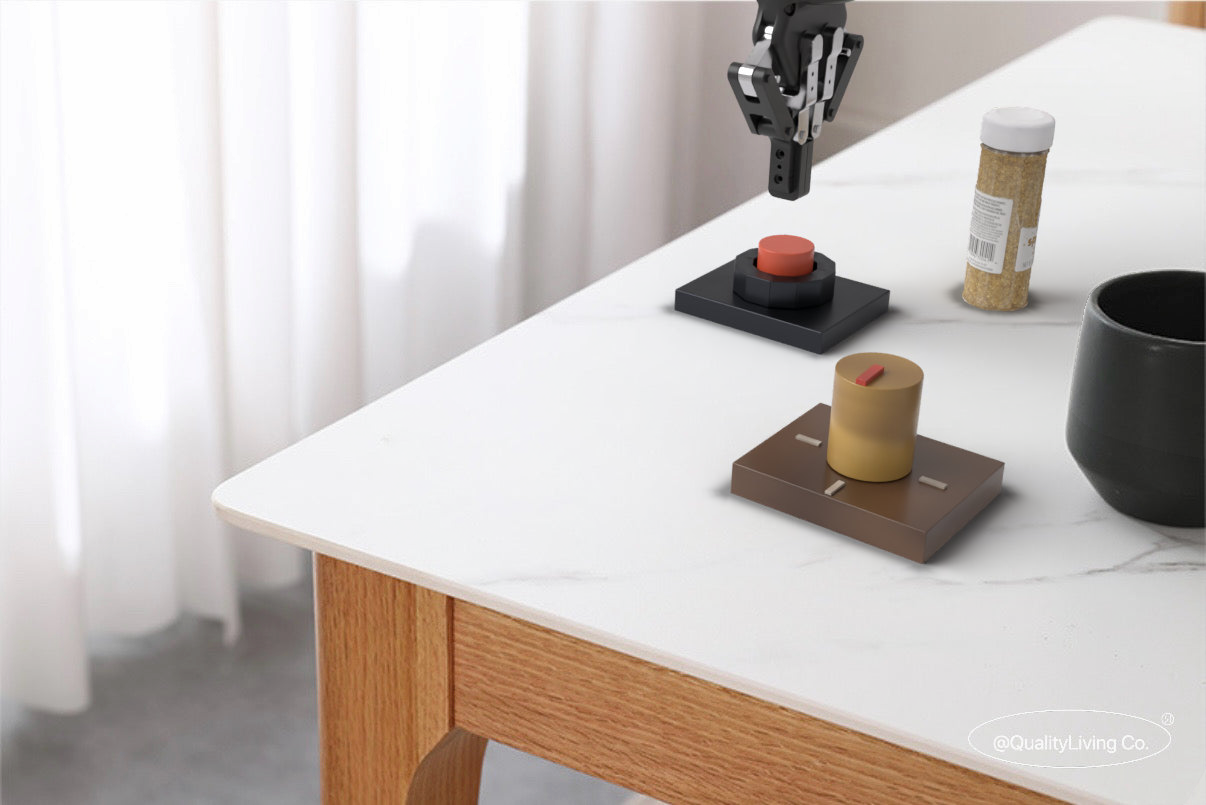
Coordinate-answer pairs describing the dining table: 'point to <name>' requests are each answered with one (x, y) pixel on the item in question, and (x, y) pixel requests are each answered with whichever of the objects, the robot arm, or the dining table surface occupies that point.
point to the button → (785, 255)
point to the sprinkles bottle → (1007, 207)
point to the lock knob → (874, 416)
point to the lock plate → (869, 488)
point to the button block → (784, 302)
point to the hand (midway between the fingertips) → (788, 195)
